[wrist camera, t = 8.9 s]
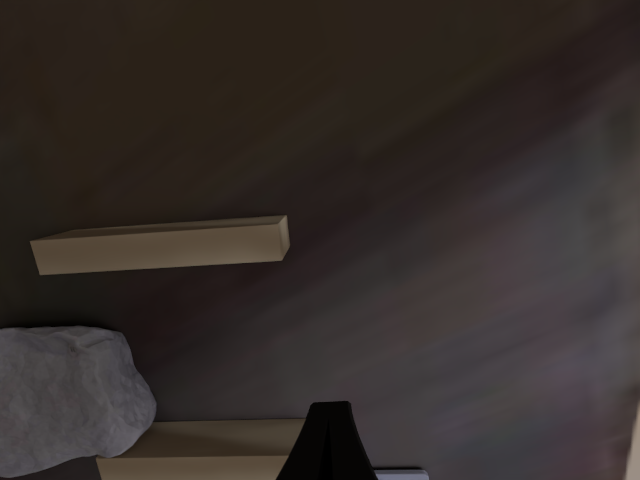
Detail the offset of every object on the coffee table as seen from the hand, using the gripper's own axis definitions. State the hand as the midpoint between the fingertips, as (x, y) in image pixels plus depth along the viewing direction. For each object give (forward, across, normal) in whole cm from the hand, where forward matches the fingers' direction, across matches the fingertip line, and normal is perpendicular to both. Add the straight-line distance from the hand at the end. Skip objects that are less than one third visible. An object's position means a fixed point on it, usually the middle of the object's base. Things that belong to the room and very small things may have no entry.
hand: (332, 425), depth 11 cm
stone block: (+10, +20, +4) cm, 23 cm away
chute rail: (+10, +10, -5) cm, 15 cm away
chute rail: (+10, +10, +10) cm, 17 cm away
